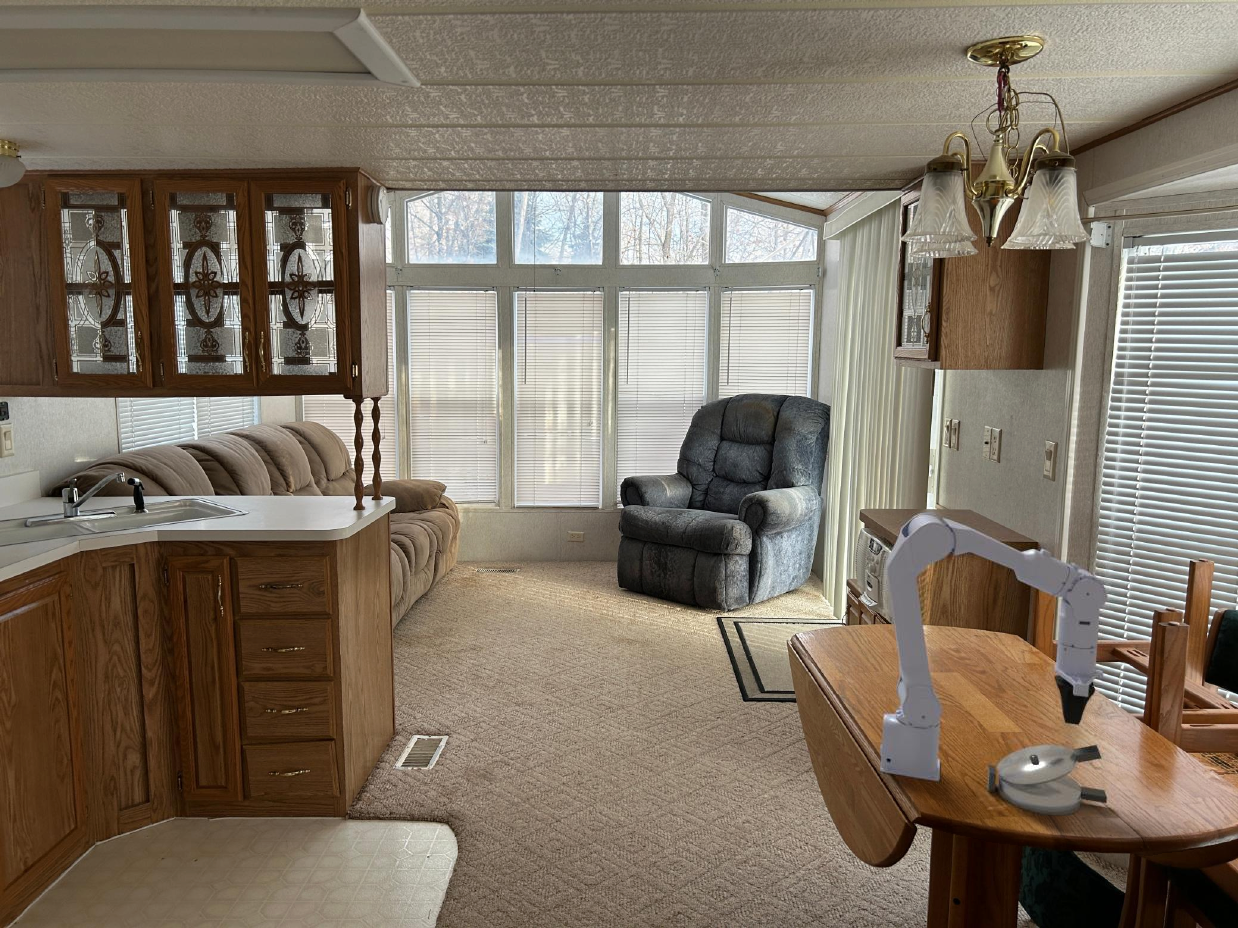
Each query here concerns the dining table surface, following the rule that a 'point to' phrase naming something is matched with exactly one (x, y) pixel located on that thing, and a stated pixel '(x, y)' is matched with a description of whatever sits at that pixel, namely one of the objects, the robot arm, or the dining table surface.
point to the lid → (1043, 763)
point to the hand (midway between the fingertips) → (1071, 722)
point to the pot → (1046, 794)
